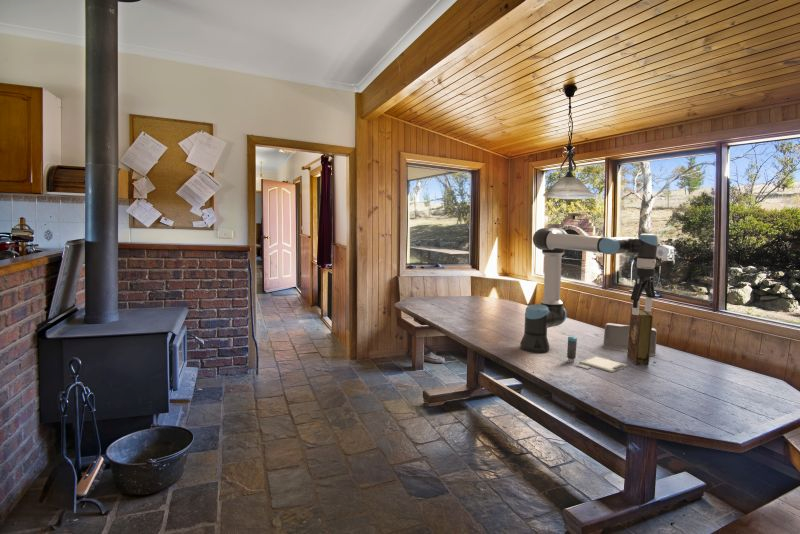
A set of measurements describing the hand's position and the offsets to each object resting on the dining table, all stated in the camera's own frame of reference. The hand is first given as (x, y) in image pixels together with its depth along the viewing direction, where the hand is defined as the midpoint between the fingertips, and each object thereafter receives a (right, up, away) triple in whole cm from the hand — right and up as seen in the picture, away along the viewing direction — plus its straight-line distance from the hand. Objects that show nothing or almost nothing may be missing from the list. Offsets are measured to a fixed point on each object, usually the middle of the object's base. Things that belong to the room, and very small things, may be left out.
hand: (641, 312), depth 209 cm
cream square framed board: (-14, -26, +9) cm, 31 cm away
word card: (-25, -26, +5) cm, 37 cm away
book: (+6, -26, +16) cm, 31 cm away
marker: (-28, -25, +13) cm, 40 cm away
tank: (+13, -24, +38) cm, 47 cm away
